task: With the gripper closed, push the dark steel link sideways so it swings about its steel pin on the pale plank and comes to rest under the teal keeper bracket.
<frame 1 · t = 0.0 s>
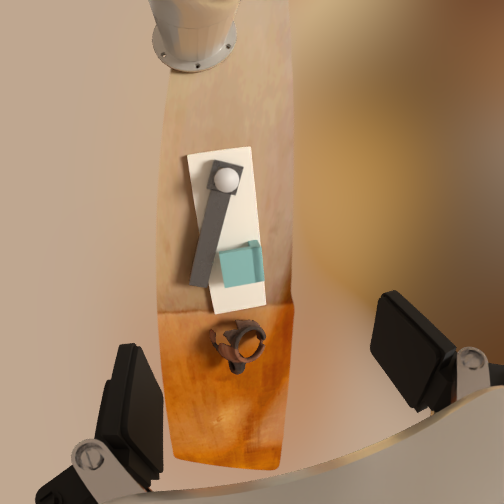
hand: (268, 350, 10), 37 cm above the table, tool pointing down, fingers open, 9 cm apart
keeper bracket: (240, 256, 49), resting on base plank
brown two-tone legged part: (234, 335, 56), on the table
swing link: (211, 227, 44), point 2 cm above the table, hinge at -22.0°
base plank: (229, 235, 48), on the table
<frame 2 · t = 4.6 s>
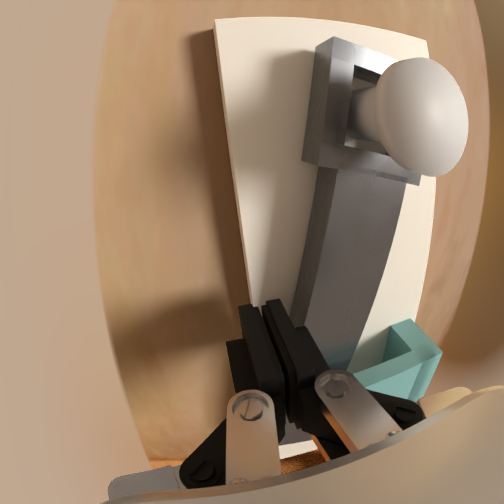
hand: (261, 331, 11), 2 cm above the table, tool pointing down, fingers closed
keeper bracket: (354, 358, 17), resting on base plank
swing link: (331, 308, 12), point 2 cm above the table, hinge at -13.6°, touching gripper
base plank: (341, 314, 15), on the table
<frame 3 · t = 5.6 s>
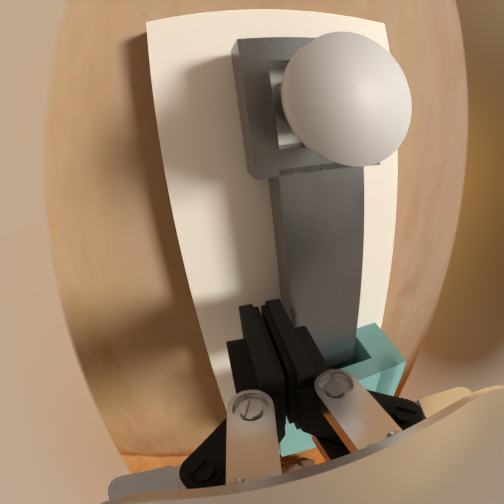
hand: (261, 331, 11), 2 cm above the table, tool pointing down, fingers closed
keeper bracket: (317, 362, 16), resting on base plank
swing link: (320, 304, 12), point 2 cm above the table, hinge at 1.1°, touching gripper
base plank: (297, 316, 15), on the table
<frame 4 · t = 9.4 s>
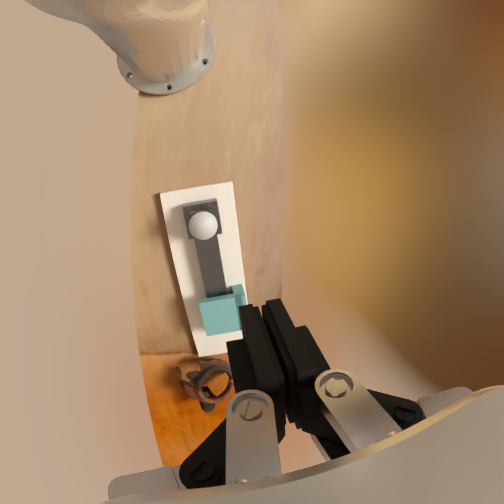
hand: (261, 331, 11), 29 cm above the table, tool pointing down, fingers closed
keeper bracket: (223, 300, 45), resting on base plank
brown two-tone legged part: (203, 371, 50), on the table
swing link: (212, 273, 40), point 2 cm above the table, hinge at 0.8°
base plank: (211, 279, 43), on the table
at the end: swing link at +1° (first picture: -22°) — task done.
